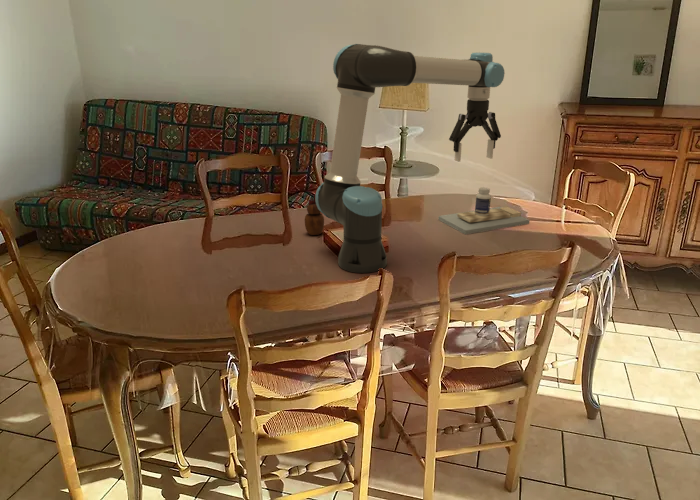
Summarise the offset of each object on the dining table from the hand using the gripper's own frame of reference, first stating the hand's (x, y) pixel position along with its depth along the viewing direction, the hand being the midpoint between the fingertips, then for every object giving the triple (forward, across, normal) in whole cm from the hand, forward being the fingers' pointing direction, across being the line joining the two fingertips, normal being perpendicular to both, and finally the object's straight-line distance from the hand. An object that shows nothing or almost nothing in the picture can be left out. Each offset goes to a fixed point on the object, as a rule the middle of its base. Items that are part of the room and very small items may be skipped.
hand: (473, 159), depth 213 cm
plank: (+21, +4, -3) cm, 22 cm away
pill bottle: (+20, +3, -3) cm, 21 cm away
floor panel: (+23, +4, -3) cm, 24 cm away
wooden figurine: (+24, -58, +10) cm, 63 cm away
